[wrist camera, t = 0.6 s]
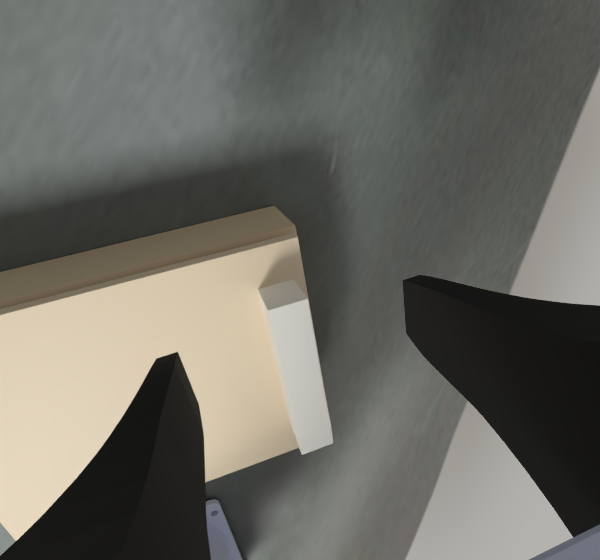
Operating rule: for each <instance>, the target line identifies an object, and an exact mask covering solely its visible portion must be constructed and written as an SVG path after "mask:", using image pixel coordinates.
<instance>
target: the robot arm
mask: <svg viewBox="0 0 600 560" xmlns="http://www.w3.org/2000/svg"><path fill="white" fill-rule="evenodd" d="M403 292H404V307H405V322H406V333H407V335H408V336H409V337H410V339H411V340H412V342H413V343H414V344H415V346H416V347H417V348H418V350H419V351H420V352H421V353H422V355H423V356H424V357H425V358H426V359H427V360H428V361H429V362H430V363H431V364H432V365H433V366H434V367H435V368H436V369H437V370H438V371H439V372H440V373H441V374H442V375H443V376H444V377H445V378H446V379H447V380H448V381H449V382H450V383H451V384H452V385H453V386H454V387H455V388H456V389H457V390H458V391H459V392H460V393H461V394H462V395H463V396H464V397H465V398H466V399H467V400H468V401H469V402H470V403H471V404H472V405H473V406H474V407H475V408H476V409H477V410H478V411H479V413H480V414H481V415H482V416H483V417H484V418H485V419H486V420H487V422H488V423H489V424H490V425H491V427H492V428H493V429H494V430H495V431H496V433H497V434H498V435H499V436H500V438H501V439H502V440H503V441H504V442H505V444H506V445H507V446H508V448H509V449H510V450H511V452H512V453H513V454H514V455H515V457H516V458H517V459H518V461H519V462H520V463H521V464H522V466H523V467H524V468H525V469H526V471H527V472H528V473H529V475H530V476H531V478H532V479H533V480H534V482H535V483H536V484H537V486H538V487H539V489H540V490H541V491H542V493H543V494H544V496H545V497H546V498H547V500H548V501H549V502H550V504H551V505H552V507H553V508H554V510H555V511H556V512H557V514H558V515H559V517H560V518H561V520H562V521H563V523H564V524H565V526H566V527H567V528H568V530H569V531H570V533H571V534H572V536H573V537H574V538H572V539H570V540H568V541H566V542H564V543H562V544H560V545H558V546H556V547H554V548H552V549H550V550H548V551H546V552H544V553H542V554H540V555H538V556H536V557H534V558H532V559H530V560H600V306H595V305H581V304H569V303H560V302H552V301H544V300H536V299H530V298H523V297H518V296H513V295H508V294H503V293H498V292H493V291H489V290H484V289H480V288H476V287H472V286H468V285H464V284H460V283H455V282H451V281H447V280H443V279H439V278H434V277H429V276H423V275H418V276H415V277H412V278H409V279H406V280H403ZM0 560H243V559H242V557H241V554H240V552H239V549H238V547H237V544H236V542H235V539H234V537H233V534H232V532H231V530H230V527H229V525H228V522H227V520H226V517H225V515H224V512H223V510H222V507H221V505H220V502H219V501H218V500H216V499H212V500H209V501H206V493H205V455H204V433H203V427H202V420H201V414H200V408H199V404H198V401H197V399H196V396H195V394H194V391H193V389H192V386H191V384H190V381H189V379H188V376H187V374H186V371H185V369H184V366H183V364H182V361H181V359H180V356H179V354H178V352H176V353H172V354H169V355H166V356H163V357H160V358H157V359H156V360H155V362H154V363H153V365H152V367H151V369H150V370H149V372H148V374H147V376H146V378H145V379H144V381H143V383H142V385H141V386H140V388H139V390H138V392H137V394H136V395H135V397H134V399H133V400H132V402H131V404H130V405H129V407H128V409H127V410H126V412H125V414H124V415H123V417H122V418H121V420H120V421H119V423H118V424H117V426H116V427H115V429H114V430H113V432H112V433H111V435H110V436H109V437H108V439H107V440H106V442H105V443H104V444H103V446H102V447H101V448H100V450H99V451H98V452H97V454H96V455H95V456H94V457H93V459H92V460H91V461H90V462H89V464H88V465H87V466H86V467H85V469H84V470H83V471H82V472H81V473H80V475H79V476H78V477H77V478H76V479H75V480H74V481H73V483H72V484H71V485H70V486H69V487H68V488H67V489H66V490H65V491H64V492H63V494H62V495H61V496H60V497H59V498H58V499H57V500H56V501H55V502H54V503H53V504H52V506H51V507H50V508H49V509H48V510H47V511H46V512H45V513H44V514H43V515H42V516H41V517H40V518H39V519H38V520H37V521H36V522H35V523H34V524H33V525H32V526H31V527H30V528H29V529H28V530H27V531H26V532H25V533H24V534H23V535H22V536H21V537H20V538H19V539H18V540H17V541H16V542H15V543H14V544H13V545H12V546H10V547H9V548H8V549H7V550H6V551H5V552H4V553H3V554H2V555H1V556H0Z"/></svg>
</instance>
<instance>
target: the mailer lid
mask: <svg viewBox="0 0 600 560" xmlns="http://www.w3.org/2000/svg"><path fill="white" fill-rule="evenodd" d="M176 352H178V354H179V356H180V359H181V361H182V364H183V366H184V369H185V371H186V374H187V376H188V379H189V381H190V384H191V386H192V389H193V391H194V394H195V396H196V399H197V401H198V404H199V408H200V414H201V420H202V427H203V433H204V455H205V483H206V482H208V481H211V480H214V479H216V478H219V477H222V476H224V475H227V474H230V473H232V472H235V471H238V470H240V469H243V468H246V467H249V466H251V465H254V464H257V463H259V462H262V461H265V460H267V459H270V458H273V457H275V456H278V455H281V454H283V453H286V452H289V451H291V450H294V449H297V448H299V449H300V451H301V454H302V455H303V454H306V453H309V452H311V451H314V450H317V449H319V448H322V447H325V446H327V445H330V444H333V438H332V435H333V434H332V428H331V422H330V417H329V411H328V405H327V400H326V394H325V388H324V383H323V377H322V372H321V366H320V360H319V355H318V349H317V343H316V338H315V332H314V326H313V321H312V315H311V309H310V304H309V298H308V292H307V287H306V281H305V276H304V270H303V264H302V259H301V253H300V247H299V242H298V237H297V236H296V235H295V234H294V233H292V234H288V235H284V236H280V237H277V238H273V239H269V240H265V241H261V242H257V243H253V244H250V245H246V246H242V247H238V248H234V249H230V250H226V251H223V252H219V253H215V254H211V255H207V256H203V257H199V258H196V259H192V260H188V261H184V262H180V263H176V264H173V265H169V266H165V267H161V268H157V269H153V270H149V271H146V272H142V273H138V274H134V275H130V276H126V277H122V278H119V279H115V280H111V281H107V282H103V283H99V284H95V285H92V286H88V287H84V288H80V289H76V290H72V291H69V292H65V293H61V294H57V295H53V296H49V297H45V298H42V299H38V300H34V301H30V302H26V303H22V304H18V305H15V306H11V307H7V308H3V309H0V522H1V524H2V525H3V526H4V527H5V528H6V530H7V531H8V532H9V533H10V534H11V536H12V537H13V538H14V539H15V540H16V541H17V540H18V539H19V538H20V537H21V536H22V535H23V534H24V533H25V532H26V531H27V530H28V529H29V528H30V527H31V526H32V525H33V524H34V523H35V522H36V521H37V520H38V519H39V518H40V517H41V516H42V515H43V514H44V513H45V512H46V511H47V510H48V509H49V508H50V507H51V506H52V504H53V503H54V502H55V501H56V500H57V499H58V498H59V497H60V496H61V495H62V494H63V492H64V491H65V490H66V489H67V488H68V487H69V486H70V485H71V484H72V483H73V481H74V480H75V479H76V478H77V477H78V476H79V475H80V473H81V472H82V471H83V470H84V469H85V467H86V466H87V465H88V464H89V462H90V461H91V460H92V459H93V457H94V456H95V455H96V454H97V452H98V451H99V450H100V448H101V447H102V446H103V444H104V443H105V442H106V440H107V439H108V437H109V436H110V435H111V433H112V432H113V430H114V429H115V427H116V426H117V424H118V423H119V421H120V420H121V418H122V417H123V415H124V414H125V412H126V410H127V409H128V407H129V405H130V404H131V402H132V400H133V399H134V397H135V395H136V394H137V392H138V390H139V388H140V386H141V385H142V383H143V381H144V379H145V378H146V376H147V374H148V372H149V370H150V369H151V367H152V365H153V363H154V362H155V360H156V359H157V358H160V357H163V356H166V355H169V354H172V353H176Z"/></svg>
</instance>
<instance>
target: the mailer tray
mask: <svg viewBox="0 0 600 560" xmlns="http://www.w3.org/2000/svg"><path fill="white" fill-rule="evenodd" d="M292 233H294V234H295V235H296V236H297V232H296V226H295V225H294V224H293V223H292V222H291V221H290V220H289V219H288V218H287V217H286V216H285V215H284V214H283V213H282V212H281V211H280V210H278V209H277V208H276V207H275V206H270V207H266V208H262V209H258V210H254V211H249V212H245V213H241V214H237V215H233V216H229V217H225V218H221V219H217V220H212V221H208V222H204V223H200V224H196V225H192V226H188V227H184V228H179V229H175V230H171V231H167V232H163V233H159V234H155V235H151V236H147V237H142V238H138V239H134V240H130V241H126V242H122V243H118V244H114V245H109V246H105V247H101V248H97V249H93V250H89V251H85V252H81V253H76V254H72V255H68V256H64V257H60V258H56V259H52V260H48V261H44V262H39V263H35V264H31V265H27V266H23V267H19V268H15V269H11V270H6V271H2V272H0V309H3V308H7V307H11V306H15V305H18V304H22V303H26V302H30V301H34V300H38V299H42V298H45V297H49V296H53V295H57V294H61V293H65V292H69V291H72V290H76V289H80V288H84V287H88V286H92V285H95V284H99V283H103V282H107V281H111V280H115V279H119V278H122V277H126V276H130V275H134V274H138V273H142V272H146V271H149V270H153V269H157V268H161V267H165V266H169V265H173V264H176V263H180V262H184V261H188V260H192V259H196V258H199V257H203V256H207V255H211V254H215V253H219V252H223V251H226V250H230V249H234V248H238V247H242V246H246V245H250V244H253V243H257V242H261V241H265V240H269V239H273V238H277V237H280V236H284V235H288V234H292Z"/></svg>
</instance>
